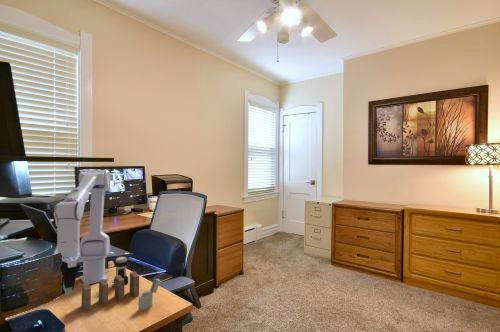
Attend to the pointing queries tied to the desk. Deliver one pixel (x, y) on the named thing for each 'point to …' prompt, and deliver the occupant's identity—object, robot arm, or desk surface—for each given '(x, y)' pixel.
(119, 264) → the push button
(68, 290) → the domino
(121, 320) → the desk surface
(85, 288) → the row domino
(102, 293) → the row domino
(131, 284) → the domino
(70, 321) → the desk surface
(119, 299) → the row domino
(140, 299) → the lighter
